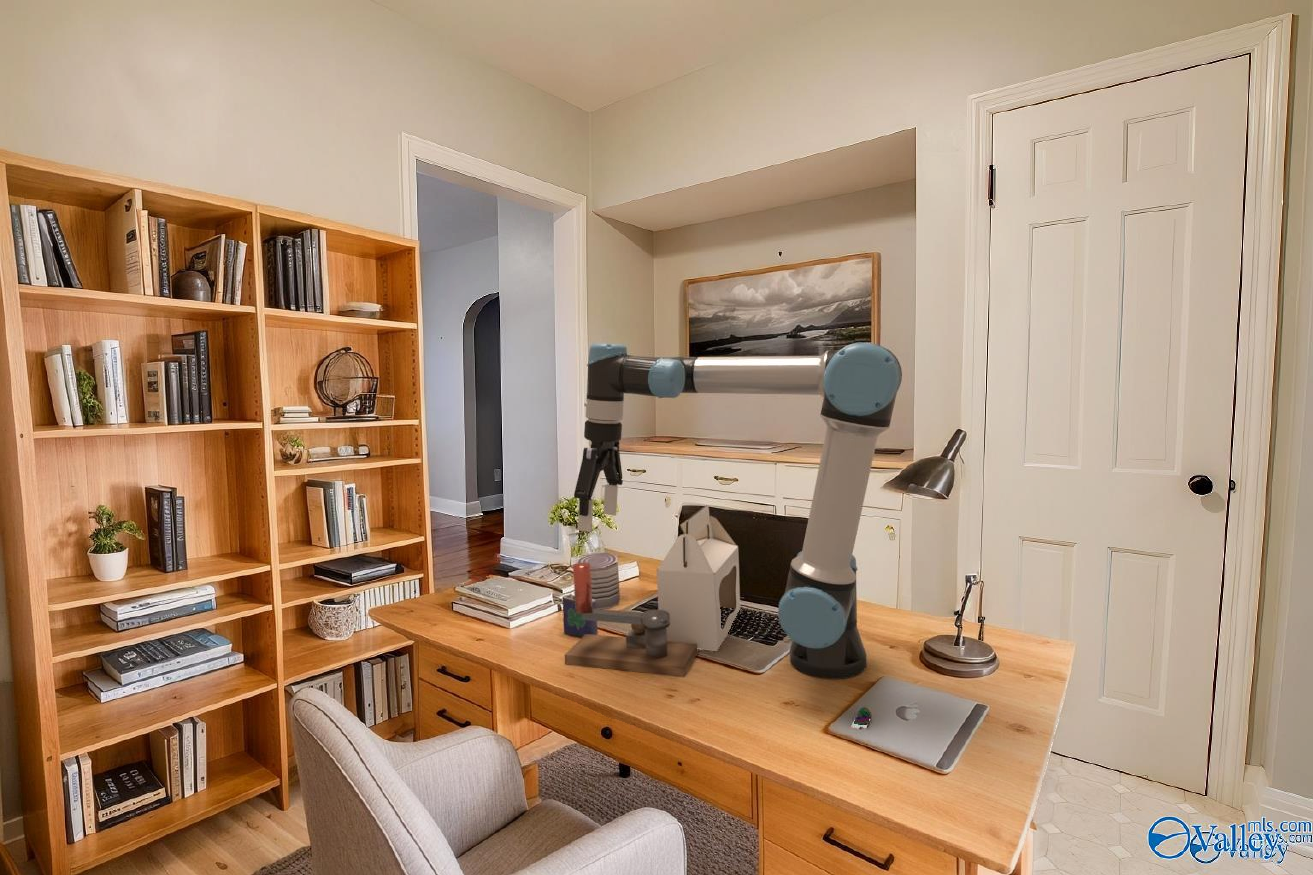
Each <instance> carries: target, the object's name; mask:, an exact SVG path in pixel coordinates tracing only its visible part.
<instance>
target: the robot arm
mask: <svg viewBox="0 0 1313 875" xmlns="http://www.w3.org/2000/svg"><path fill="white" fill-rule="evenodd" d="M587 360H588V361H587V364H586V366H587V380H586V381H587V382H586V384H587V385H586V400H585V401H586V402H584V404H583V405H584V407H585V419H586V420H585V422H584V428H583V429H584V431H583V432H584V433H583V437H584V439H586V440H588V441H590V442H591V443H590V447H584V448H583V450H582V460H581V464H580V468H579V473H578V476H577V480H576V483H575V484H576V485H575V490H574V494H573V497H574V498H575V499H578V514H577V531H579V532H580V531H581V532H586V533H587V532H588V533H591V532H593V513H594V498H592V497H593V495H594V492H595V488H596V485H597V482H598V479H599V477H600V473H601V472H602V471H603V473H604V477H605V480H606V483H605V484H604V496H603V497H604V499H603V512H602V514H603V515H608V516H617V507H618V490H619V486H622V485H623V482H624V480H623V470H622V461H621V453H620V441H621V439H622V432H623V431H622V430H623V424H622V422H621V421H622V420H623V419H624V402H625V401H624V399H625V394H626V395H627V394H632V395H639V396H649V397H657V398H658V399H665V398H667V399H676V398H678V397H679V396H680V395H681V393H682V394H742V395H743V394H745V395H746V394H748V395H749V394H750V395H751V394H752V395H801V396H802V395H803V396H806V395H807V396H808V395H809V396H810V395H811V396H812V395H813V396H818V395H819V396H821V397H822V398H823V400H822V404H821V410H820V417H821V419H822V421H823V422H824V423H825V425H826V430H825V436H824V441H823V445H822V449H821V456H820V461H819V465H818V471H817V476H816V479H815V480H816V481H815V486H814V490H813V495H812V500H811V506H810V510H809V516H808V519H807V520H808V521H807V525H806V530H805V536H804V539H803V540H804V541H803V544H802V551H801V550H800V552H799V551H798V553H797V554H796V557H794V558H792V559H791V562H790V565H789V566H790V568H789V572H788V575H787V582H786V587H785V590H784V594H783V595H782V597H781V599H780V600H779V602H778V610H777V617H778V622H779V624H780V627H781V628H782V630H783V631H784V633H785V634H786V635H787V636H788V638H789V639H790V640H792V641H791V644H790V648H789V661H790V664H791V665H792V667H793V668H794V669H796V670H797V671H799V672H801V673H803V674H806V675H808V676H812V677H816V678H821V679H830V680H831V679H847V678H851V677H854V676H857V675H860V674H862V673H863V672H864V671H865V670H866V668H867V652H866V649H865V646H864V643H863V641H862V638H861V635H860V632H859V629H858V609H857V608H858V607H857V606H858V605H857V604H858V602H857V601H858V600H857V598H858V597H857V593H858V592H857V571H858V567H857V559H856V556H854V554H853V552H854V549H855V548H854V547H855V543H856V539H857V534H858V530H859V525H860V521H861V515H862V511H863V507H864V502H865V496H866V493H867V487H868V483H869V477H870V475H871V469H872V466H873V465H872V464H873V459H874V456H875V451H876V445H877V441H878V437H879V436H880V435H881V434H882V433H885V432H886V431H887V430H888V429H890V426H891V421H892V416H893V412H894V407H895V404H896V403H895V402H896V398H897V394H898V391H899V389H900V387H901V383H902V378H903V377H902V376H903V370H902V367H901V364H900V362H899V360H898V357H897V356H896V355H895V354H894V353H893V352H892V351H891V350H889V349H888V348H886V347H884V346H881V345H880V344H877V343H873V342H870V341H869V342H861V341H860V342H854V343H851V344H848V345H846V346H844V347H843V348H841V349H838V350H837V349H836V350H826V351H825V352H824V353H822V355H778V356H777V355H774V356H773V355H771V356H770V355H767V356H766V355H765V356H763V355H762V356H697V357H696V356H674V357H671V356H670V357H668V356H667V357H665V356H664V357H662V356H661V357H655V356H654V357H652V356H638V355H636V356H635V355H630V354H628V348H627V346H626V345H624V344H620V343H619V344H618V343H604V342H594V343H592V344H591V345H590V347H589V352H588V359H587Z"/></svg>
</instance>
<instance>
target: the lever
mask: <svg viewBox="0 0 1313 875" xmlns="http://www.w3.org/2000/svg"><path fill="white" fill-rule="evenodd" d="M572 570H573V585H574V586H573V588H574V592H575V594H574V595H575V608H576V612H577V613H581V614H582V620H591V621H597V622H607V623H616V624H617V623H618V624H630V625H631V624H640V625H641V626H642V627H643V628H644V629H647V630H661V629H665V628H667V627H668V626H669V625H670V614H669V613H668V612H667V611H664V610H658V609H651V610H646V611H644V612H639V611H638V612H637V611H624V610H623V611H622V610H611V609H602V610H601V609H592V591H591V572H590V564H589V563H576V562H575V564H574V563H573V565H572Z"/></svg>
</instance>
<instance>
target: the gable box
mask: <svg viewBox="0 0 1313 875" xmlns="http://www.w3.org/2000/svg"><path fill="white" fill-rule="evenodd" d="M679 527H680V530H681V531H682V533H683V534H680V535H679V536H677V538H676V540H675V541H674V543H672V545H671V547H670V549H669V550H668V552H667V554H666V555H665V557H664V558H663V560H662V562H661V563H660V565H659V567H657V569H656V582H657V606H658V607H657V608H658V609H657V610H664V611H667V612H668V613H669V614H670V625H669V626H668V627H667V628H666V632H667V641H669V642H680V643H691V644H697V648H701V649H702V648H703V649H710V650H718V648H719V647H720V645H721V643H722V642H723V641H724V642H725V640H724V638H725V637H726V636H727V637H728V635H729V634H728V632H729V630H730V628H731V625H732V623H733V621H734V619H735V618H736V616H737V613H738V612H739V610H740V611H741V595H740V594H741V593H740V590H741V588H740V562H739V561H740V559H739V558H740V557H739V546H738V545H737V544H736V542H735V541H734V540H733V538H732V537H731V536H730V535H729V533H728V532H727V530H726V529H725V528H724V526H723V525H722V523H721V522H720V521H719V519H718V518H717V517H715V516H714V515H713V516H712V515H710V508H709V505H704V506H703V507H702V508H701V509H699V510H697V511H696V512H695V513H694V514H692V515H691V516H690V517H689V518H687V519H686V520H685V521H684V522H682V523H681V524H680V525H679ZM720 607H727V608H735V609H734V611H733V612H732V613H730V614H729V615H728V617H727V618H726V621H725V624H724V626H723V628H721V609H720ZM729 633H730V632H729ZM727 634H728V635H727ZM727 637H726V638H727ZM724 642H723V643H724ZM723 643H722V644H723ZM721 646H722V645H721ZM720 648H721V647H720ZM720 648H719V649H720ZM718 651H719V650H718Z"/></svg>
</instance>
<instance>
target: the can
mask: <svg viewBox="0 0 1313 875" xmlns="http://www.w3.org/2000/svg"><path fill="white" fill-rule="evenodd" d="M576 563H589V564H590V572H591V591H592V599H595V600H596V609H601V610H610V609H611V608H613V607H616V606H618V605H619V604H620V600H621V598H620V578H619V577H620V576H619V555H618V554H614V553H610V552H606V551H605V552H594V553H588V554H586V555H584V556H583V555H582V556H581V557H579V558H576V561H575V564H576Z"/></svg>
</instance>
